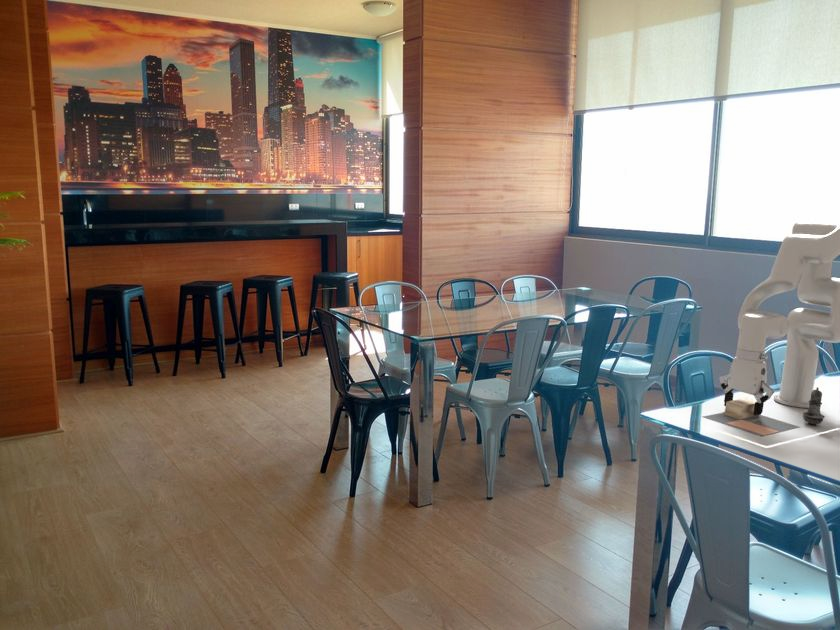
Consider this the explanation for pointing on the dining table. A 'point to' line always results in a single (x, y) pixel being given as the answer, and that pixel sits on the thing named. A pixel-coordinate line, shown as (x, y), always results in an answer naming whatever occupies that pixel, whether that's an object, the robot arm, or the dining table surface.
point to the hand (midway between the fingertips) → (742, 410)
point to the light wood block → (740, 408)
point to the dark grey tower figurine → (814, 409)
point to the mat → (753, 424)
